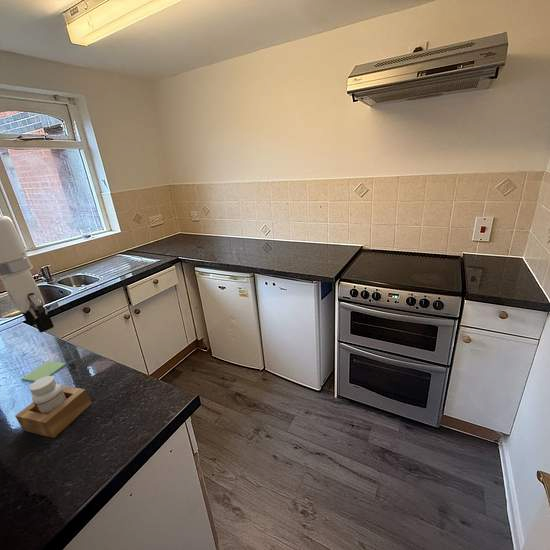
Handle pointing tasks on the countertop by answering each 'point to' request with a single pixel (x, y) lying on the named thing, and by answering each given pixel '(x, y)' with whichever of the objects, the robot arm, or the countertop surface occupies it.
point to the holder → (55, 413)
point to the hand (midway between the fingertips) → (40, 325)
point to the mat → (44, 371)
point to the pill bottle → (47, 394)
